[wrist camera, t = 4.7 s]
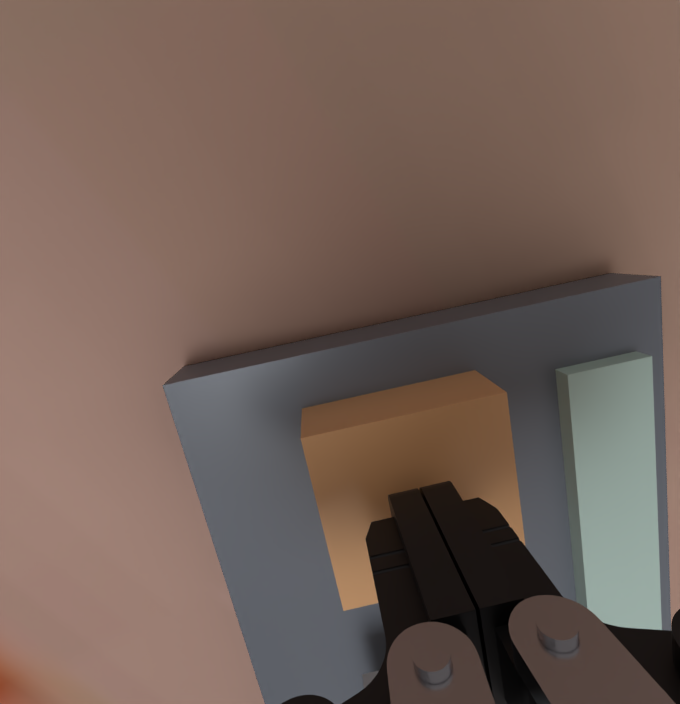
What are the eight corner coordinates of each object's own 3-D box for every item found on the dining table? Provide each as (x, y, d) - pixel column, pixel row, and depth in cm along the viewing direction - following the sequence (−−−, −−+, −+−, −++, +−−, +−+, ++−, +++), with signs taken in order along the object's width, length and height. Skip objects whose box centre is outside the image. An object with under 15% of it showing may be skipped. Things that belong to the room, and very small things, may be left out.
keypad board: (338, 873, 19) (343, 968, 17) (183, 366, 14) (154, 392, 11) (640, 799, 19) (690, 881, 17) (611, 273, 14) (679, 277, 11)
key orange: (338, 557, 13) (343, 610, 11) (301, 408, 12) (300, 438, 10) (495, 521, 13) (528, 568, 11) (475, 370, 12) (506, 392, 10)
